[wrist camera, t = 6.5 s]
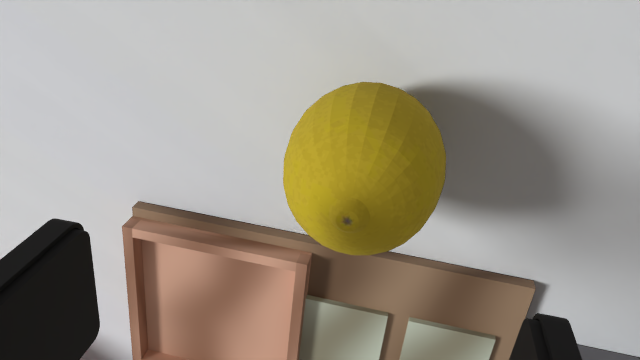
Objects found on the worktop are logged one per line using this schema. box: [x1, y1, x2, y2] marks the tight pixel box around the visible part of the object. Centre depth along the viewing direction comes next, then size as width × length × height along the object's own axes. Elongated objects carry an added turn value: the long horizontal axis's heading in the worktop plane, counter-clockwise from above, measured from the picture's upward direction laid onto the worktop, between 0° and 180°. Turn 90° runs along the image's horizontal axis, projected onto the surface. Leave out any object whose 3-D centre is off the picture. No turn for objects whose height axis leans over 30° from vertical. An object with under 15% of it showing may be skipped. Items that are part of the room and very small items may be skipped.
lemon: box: [283, 82, 446, 255], centre depth 19 cm, size 6×6×8 cm
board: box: [122, 201, 536, 360], centre depth 27 cm, size 19×10×2 cm, turn 84°
